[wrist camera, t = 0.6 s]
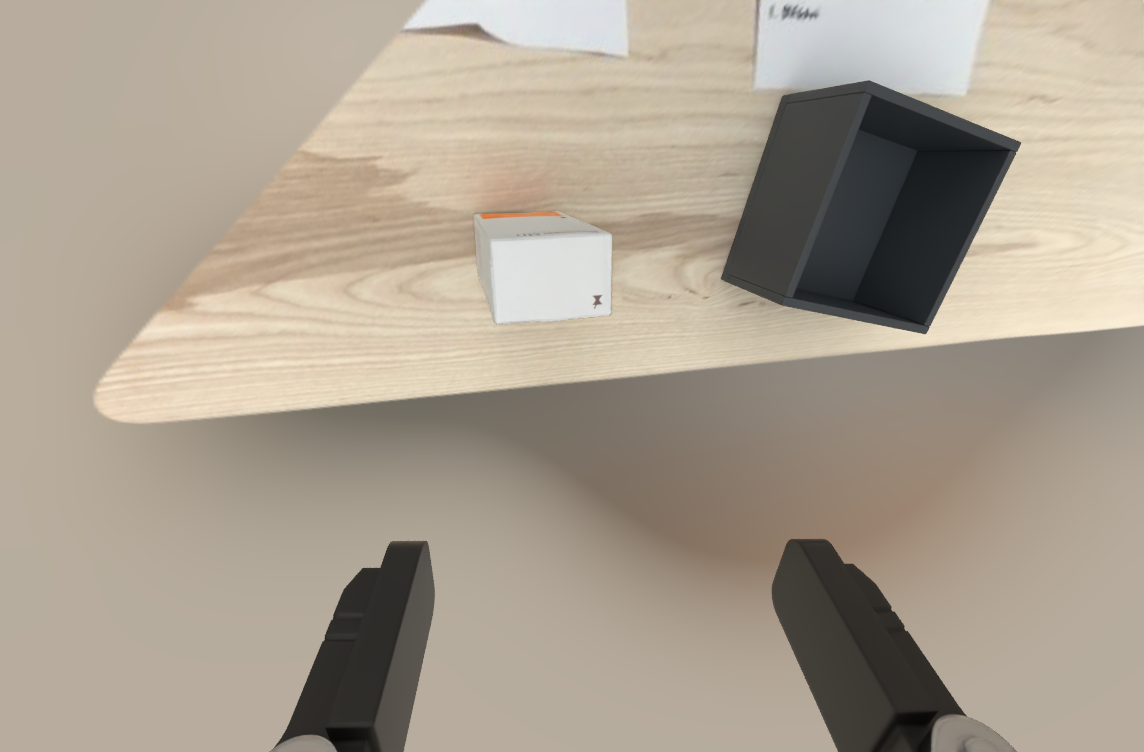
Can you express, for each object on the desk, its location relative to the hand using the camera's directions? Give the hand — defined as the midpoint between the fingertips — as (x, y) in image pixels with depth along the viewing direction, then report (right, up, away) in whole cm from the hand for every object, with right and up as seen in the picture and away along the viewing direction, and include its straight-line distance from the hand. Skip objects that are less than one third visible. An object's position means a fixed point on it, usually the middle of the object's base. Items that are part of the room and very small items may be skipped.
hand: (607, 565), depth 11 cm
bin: (+19, +17, +28) cm, 38 cm away
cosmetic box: (-5, +13, +23) cm, 27 cm away
